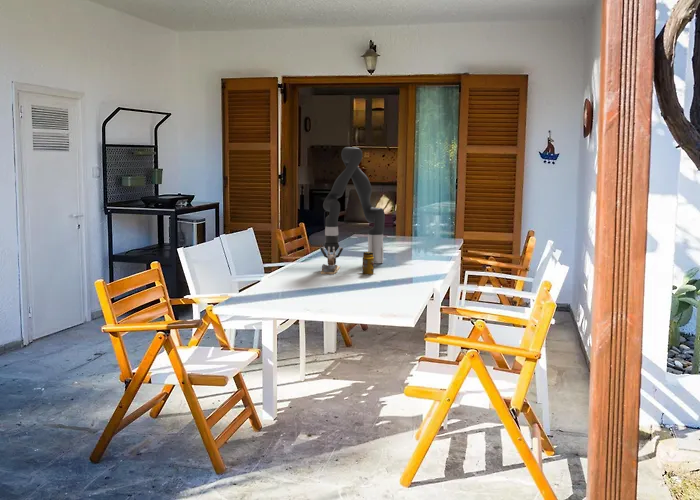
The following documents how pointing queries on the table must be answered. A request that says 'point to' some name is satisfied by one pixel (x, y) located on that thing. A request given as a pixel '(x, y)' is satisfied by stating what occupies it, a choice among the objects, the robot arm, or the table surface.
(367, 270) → the condiment
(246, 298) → the table surface
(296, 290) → the table surface
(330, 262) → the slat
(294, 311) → the table surface
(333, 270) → the guide board
